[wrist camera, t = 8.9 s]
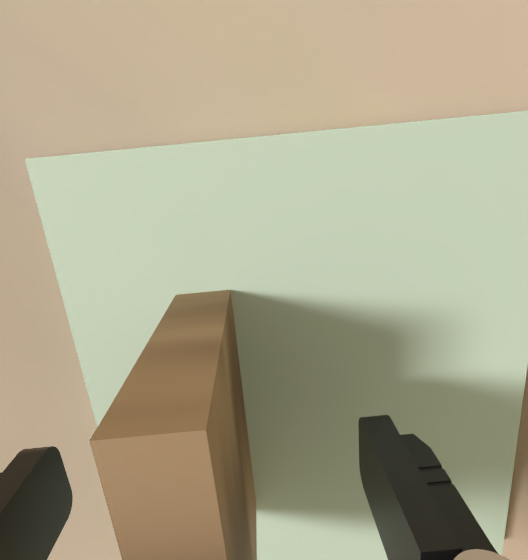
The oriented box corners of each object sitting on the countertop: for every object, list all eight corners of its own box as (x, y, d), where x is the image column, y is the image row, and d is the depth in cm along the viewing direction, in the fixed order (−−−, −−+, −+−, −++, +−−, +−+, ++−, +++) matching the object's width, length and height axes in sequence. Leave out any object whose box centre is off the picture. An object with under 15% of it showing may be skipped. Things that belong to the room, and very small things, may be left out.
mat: (37, 159, 10) (24, 158, 10) (545, 110, 10) (562, 107, 10) (146, 576, 15) (141, 592, 14) (492, 541, 15) (501, 556, 14)
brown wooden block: (175, 294, 11) (89, 441, 5) (230, 289, 11) (206, 430, 5) (211, 506, 13) (179, 768, 7) (256, 502, 13) (259, 760, 7)
